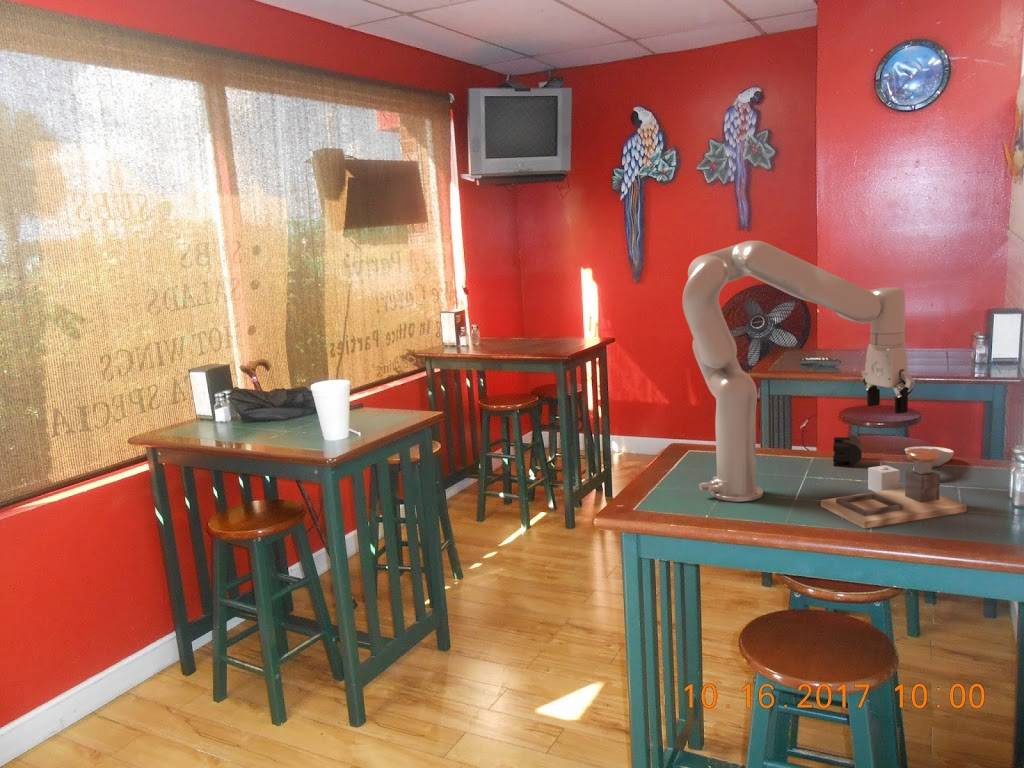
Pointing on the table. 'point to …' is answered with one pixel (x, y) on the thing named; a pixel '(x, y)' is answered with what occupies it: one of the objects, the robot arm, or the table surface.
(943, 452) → the spoon rest
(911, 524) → the table surface
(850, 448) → the end cap
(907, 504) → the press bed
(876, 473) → the block
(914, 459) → the disc
